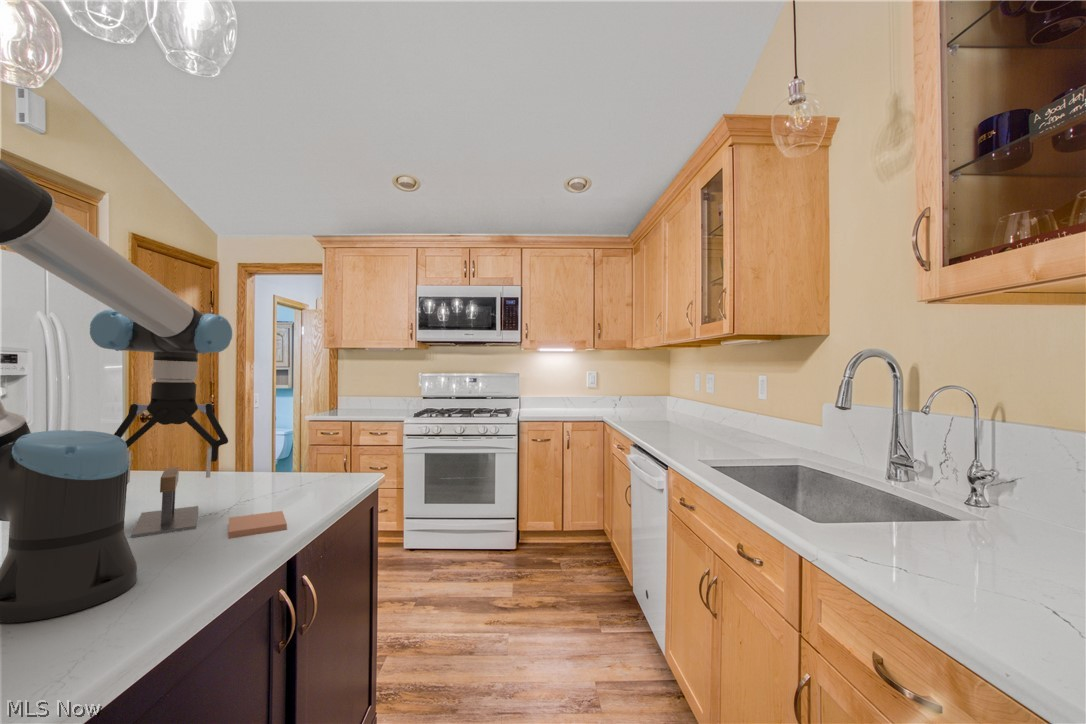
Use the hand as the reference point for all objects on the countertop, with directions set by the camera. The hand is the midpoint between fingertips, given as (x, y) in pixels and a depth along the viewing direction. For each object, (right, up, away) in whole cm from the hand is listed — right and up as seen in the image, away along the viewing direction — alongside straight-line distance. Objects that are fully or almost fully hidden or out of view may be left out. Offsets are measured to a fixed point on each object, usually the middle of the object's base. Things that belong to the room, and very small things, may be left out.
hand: (168, 479), depth 96 cm
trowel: (0, -9, 0) cm, 9 cm away
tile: (+17, -9, +3) cm, 19 cm away
